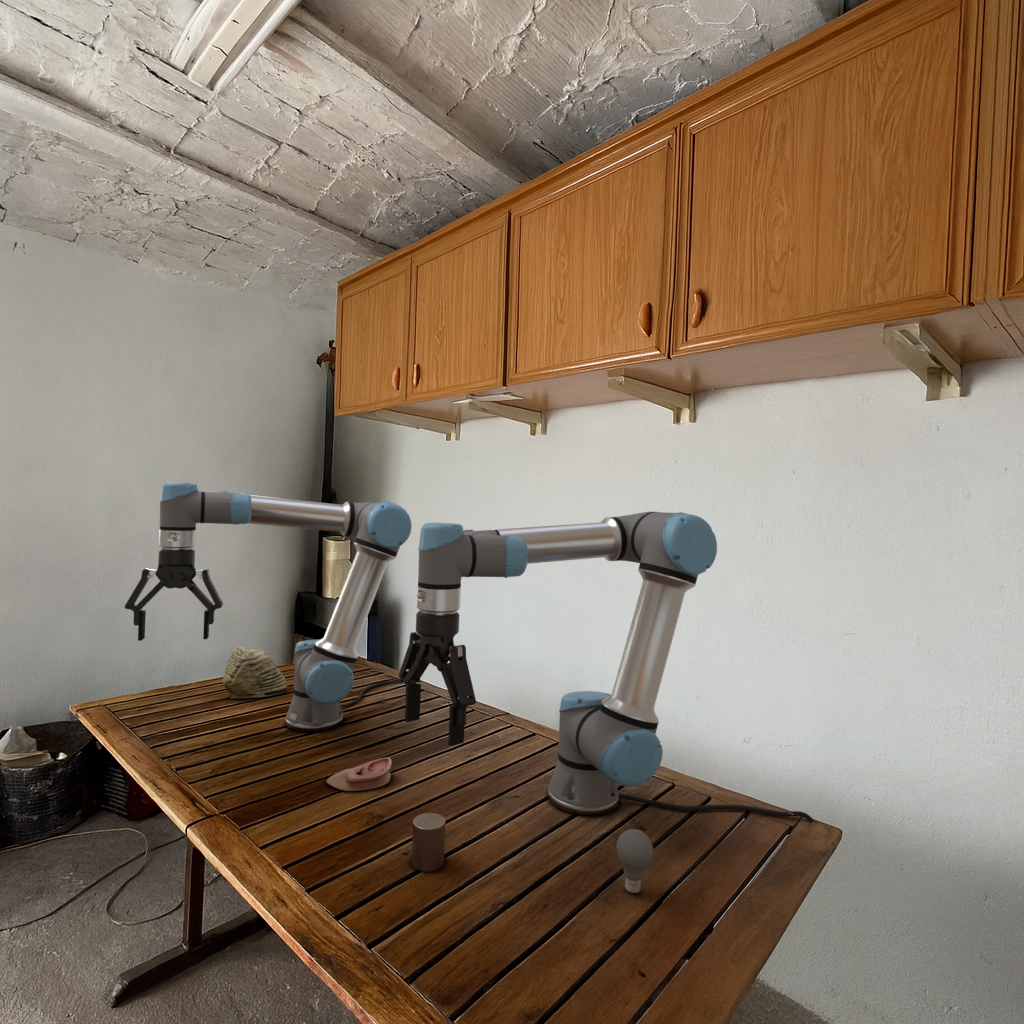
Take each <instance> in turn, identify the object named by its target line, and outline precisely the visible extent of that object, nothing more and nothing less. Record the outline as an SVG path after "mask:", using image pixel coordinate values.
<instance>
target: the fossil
mask: <svg viewBox="0 0 1024 1024" xmlns="http://www.w3.org/2000/svg"><path fill="white" fill-rule="evenodd" d="M222 676H223V677H222V685H223V687H224V688H225V690H226V691H228V693H229V698H230V699H250V698H264V697H271V696H275V695H281V694H284V693H285V691H286V689H287V687H288V686H287V680H286V678H285V676H284V674H283V673H282V672H281V669H279V668H278V667H277V665H276V663H275V662H274V660H273V659H272V658H271V657H270V656H269V655H268V654H267V653H266V652H265V650H264V649H263V648H260V647H258V648H251V647H247V646H246V647H245V646H238V647H237V648H236V649H235V650H233V651H232V653H231V656H230V657H229V659H228V660H227V663H226V666H225V668H224V671H223V675H222Z"/></svg>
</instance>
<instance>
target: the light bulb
mask: <svg viewBox="0 0 1024 1024" xmlns="http://www.w3.org/2000/svg"><path fill="white" fill-rule="evenodd" d="M615 849H616V854H617V857H618V859H619V861H620V863H621V865H622V867H623V873H624V874H623V875H624V876H625V878H624V888H625V890H627V891H628V892H630V893H634V894H635V893H639V892H640V891H641V889H642V887H641V886H642V879H643V877H644V875H645V871H646V868H647V867H648V866H649V864H650V863H651V861H652V859H653V855H654V847H653V843H652V841H651V838H649V836H648V835H647V834H646V833H645V832H643V831H642V830H641V829H636V828H629V829H627V830H625V831H623V832H622V833H621V834H620V835H619V837H618V839H617V841H616V847H615Z"/></svg>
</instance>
